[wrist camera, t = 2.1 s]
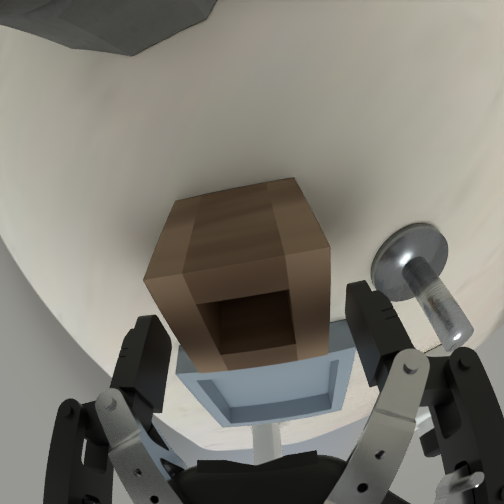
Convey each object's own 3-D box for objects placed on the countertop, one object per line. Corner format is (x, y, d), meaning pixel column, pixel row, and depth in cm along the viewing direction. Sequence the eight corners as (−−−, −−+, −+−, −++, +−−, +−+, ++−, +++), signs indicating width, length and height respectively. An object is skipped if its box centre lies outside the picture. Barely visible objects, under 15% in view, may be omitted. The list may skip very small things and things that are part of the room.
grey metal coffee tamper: (374, 231, 15) (434, 320, 9) (449, 217, 15) (513, 286, 9) (366, 301, 18) (401, 383, 13) (432, 283, 18) (475, 352, 12)
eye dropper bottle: (288, 413, 30) (299, 499, 20) (273, 427, 33) (281, 501, 23) (255, 413, 29) (262, 502, 19) (243, 426, 32) (248, 504, 23)
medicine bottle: (393, 387, 29) (417, 465, 19) (395, 365, 25) (427, 460, 15) (439, 366, 28) (468, 439, 18) (448, 339, 24) (487, 425, 14)
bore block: (175, 201, 13) (143, 280, 8) (294, 177, 13) (330, 247, 8) (206, 288, 17) (199, 373, 12) (304, 271, 16) (328, 354, 12)
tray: (179, 345, 20) (175, 373, 18) (346, 319, 19) (356, 346, 17) (222, 407, 28) (222, 427, 26) (336, 390, 27) (341, 410, 25)
